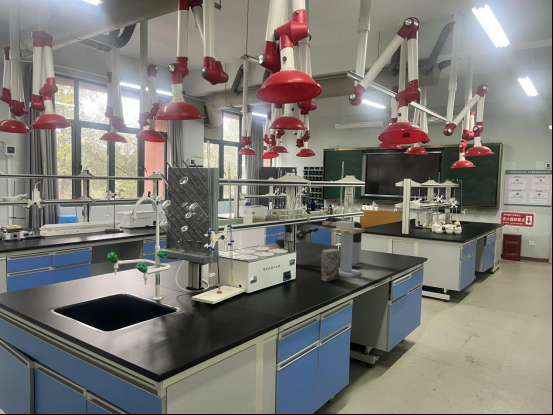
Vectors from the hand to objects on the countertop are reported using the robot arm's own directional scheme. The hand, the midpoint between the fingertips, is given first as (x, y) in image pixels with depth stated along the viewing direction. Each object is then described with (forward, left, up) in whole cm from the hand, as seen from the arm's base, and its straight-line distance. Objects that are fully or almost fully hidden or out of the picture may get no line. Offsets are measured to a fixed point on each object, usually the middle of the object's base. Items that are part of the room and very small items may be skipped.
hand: (315, 229), depth 286 cm
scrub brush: (+12, +13, +3) cm, 18 cm away
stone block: (+34, +3, -29) cm, 45 cm away
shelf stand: (+18, +19, -29) cm, 39 cm away
